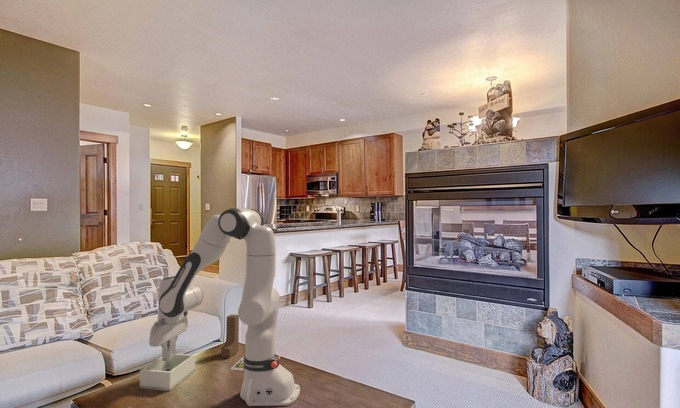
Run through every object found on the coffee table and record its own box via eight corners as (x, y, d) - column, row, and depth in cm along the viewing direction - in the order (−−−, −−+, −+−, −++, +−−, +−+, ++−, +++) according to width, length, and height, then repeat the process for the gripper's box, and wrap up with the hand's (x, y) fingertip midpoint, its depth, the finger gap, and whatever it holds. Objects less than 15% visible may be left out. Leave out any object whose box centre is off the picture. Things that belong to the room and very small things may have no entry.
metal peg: (175, 358, 146) (175, 336, 146) (169, 361, 142) (170, 339, 142) (167, 357, 146) (168, 335, 146) (162, 360, 143) (162, 338, 143)
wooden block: (229, 358, 165) (229, 320, 165) (220, 357, 166) (221, 319, 166) (238, 351, 173) (239, 314, 174) (230, 350, 174) (231, 314, 175)
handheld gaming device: (261, 356, 167) (248, 370, 152) (261, 357, 167) (248, 372, 152) (244, 355, 168) (229, 368, 153) (244, 356, 168) (229, 370, 153)
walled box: (194, 371, 151) (195, 354, 151) (169, 391, 135) (170, 372, 135) (167, 369, 153) (167, 352, 154) (139, 388, 137) (139, 370, 137)
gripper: (160, 324, 134) (159, 360, 133) (190, 309, 154) (190, 341, 154) (145, 323, 135) (144, 359, 134) (177, 308, 155) (177, 340, 155)
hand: (169, 349), depth 144 cm, fingers closed on metal peg, 3 cm apart
